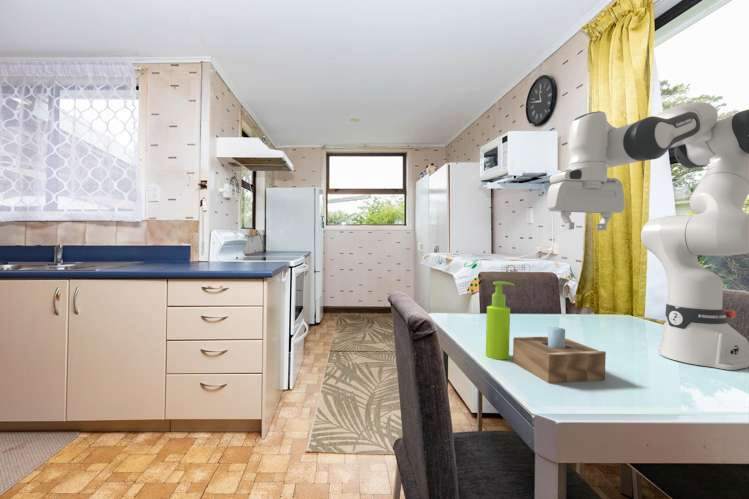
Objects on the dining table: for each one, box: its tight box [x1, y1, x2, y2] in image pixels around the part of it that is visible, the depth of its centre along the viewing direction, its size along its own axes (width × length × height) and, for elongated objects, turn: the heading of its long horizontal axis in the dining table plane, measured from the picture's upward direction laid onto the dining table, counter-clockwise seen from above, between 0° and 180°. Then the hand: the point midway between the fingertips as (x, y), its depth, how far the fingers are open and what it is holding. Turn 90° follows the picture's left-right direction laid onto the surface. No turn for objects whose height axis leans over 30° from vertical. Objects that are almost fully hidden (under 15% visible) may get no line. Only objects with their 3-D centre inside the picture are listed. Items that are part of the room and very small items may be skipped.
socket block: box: [512, 336, 607, 384], centre depth 87 cm, size 14×14×6 cm
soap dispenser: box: [485, 280, 516, 361], centre depth 97 cm, size 6×7×20 cm
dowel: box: [547, 326, 566, 349], centre depth 87 cm, size 4×4×10 cm
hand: (585, 230), depth 95 cm, fingers open, 8 cm apart
